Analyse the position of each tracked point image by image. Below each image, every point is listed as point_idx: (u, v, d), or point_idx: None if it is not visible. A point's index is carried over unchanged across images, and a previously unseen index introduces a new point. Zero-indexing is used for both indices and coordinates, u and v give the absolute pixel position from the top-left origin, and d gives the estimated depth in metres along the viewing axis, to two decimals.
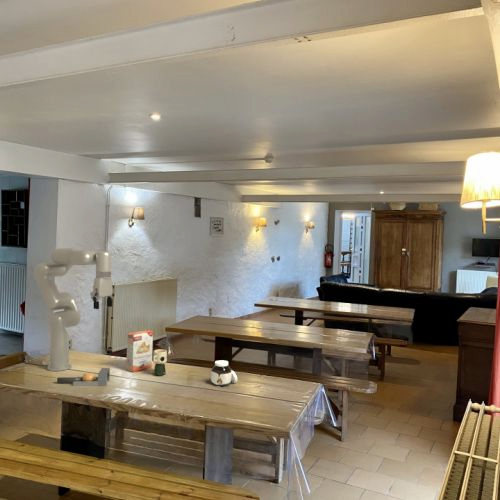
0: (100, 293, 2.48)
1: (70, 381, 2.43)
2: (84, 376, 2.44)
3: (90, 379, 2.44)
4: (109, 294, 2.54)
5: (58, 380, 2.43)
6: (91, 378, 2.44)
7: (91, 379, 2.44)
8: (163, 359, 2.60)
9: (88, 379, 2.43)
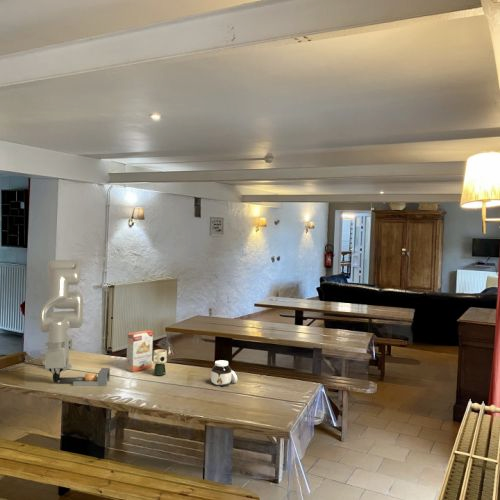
0: None
1: (72, 381, 2.44)
2: (86, 376, 2.44)
3: (92, 379, 2.44)
4: None
5: (60, 380, 2.43)
6: (93, 378, 2.44)
7: (93, 379, 2.44)
8: (163, 359, 2.60)
9: (90, 379, 2.44)
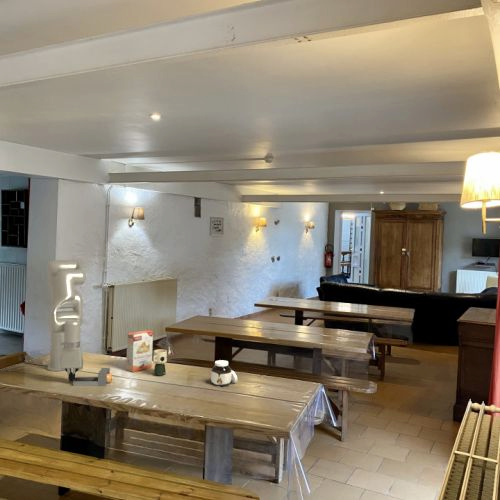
0: None
1: None
2: None
3: (108, 379, 2.45)
4: None
5: (76, 380, 2.44)
6: (109, 378, 2.45)
7: (109, 379, 2.45)
8: (163, 359, 2.60)
9: None
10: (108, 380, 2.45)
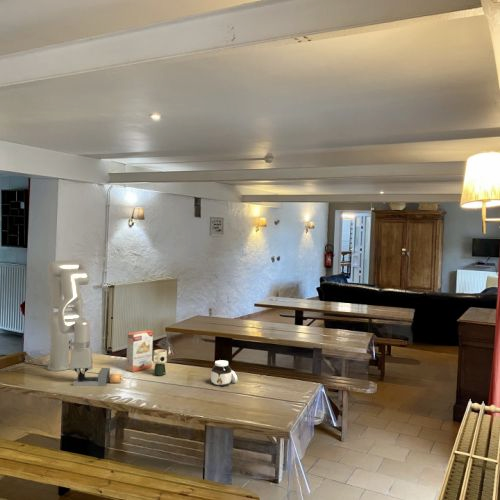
0: None
1: None
2: (111, 376, 2.45)
3: (117, 379, 2.45)
4: None
5: (85, 380, 2.44)
6: (118, 378, 2.45)
7: (118, 379, 2.45)
8: (163, 359, 2.60)
9: (115, 379, 2.45)
10: (117, 380, 2.45)
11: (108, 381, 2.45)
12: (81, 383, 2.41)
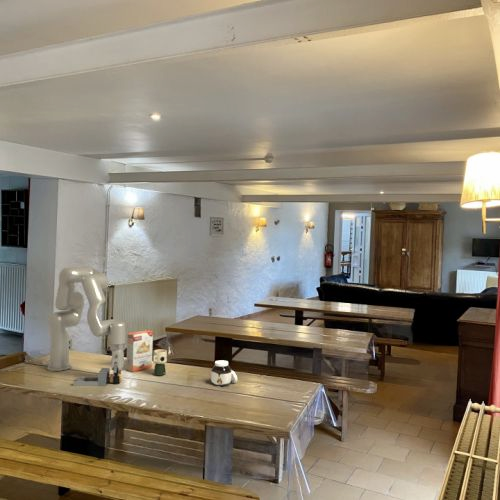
0: None
1: None
2: (111, 376, 2.45)
3: None
4: (112, 367, 2.44)
5: (85, 380, 2.44)
6: None
7: None
8: (163, 359, 2.60)
9: None
10: None
11: (108, 381, 2.46)
12: (81, 383, 2.41)
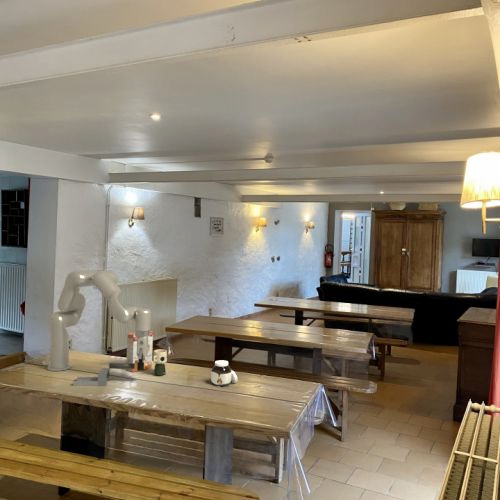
0: None
1: (122, 367, 2.46)
2: (136, 362, 2.47)
3: None
4: (137, 353, 2.46)
5: (110, 365, 2.46)
6: None
7: None
8: (163, 359, 2.60)
9: None
10: None
11: (132, 367, 2.47)
12: (81, 383, 2.41)
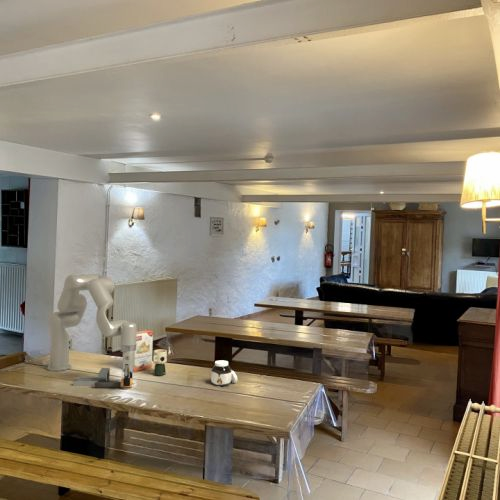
0: None
1: (108, 386, 2.38)
2: (122, 380, 2.38)
3: None
4: (123, 369, 2.37)
5: (96, 385, 2.37)
6: None
7: None
8: (163, 359, 2.60)
9: None
10: None
11: (119, 386, 2.38)
12: (81, 383, 2.41)
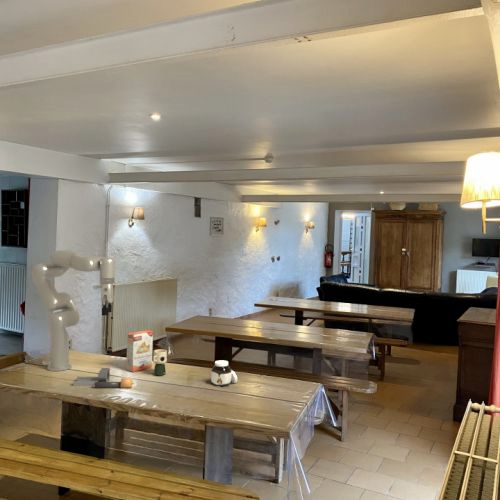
0: None
1: (108, 386, 2.38)
2: (122, 381, 2.38)
3: (128, 384, 2.38)
4: (101, 300, 2.53)
5: (95, 385, 2.37)
6: (129, 383, 2.38)
7: (129, 384, 2.38)
8: (163, 359, 2.60)
9: (126, 384, 2.38)
10: (129, 385, 2.38)
11: (119, 386, 2.38)
12: (81, 383, 2.41)
